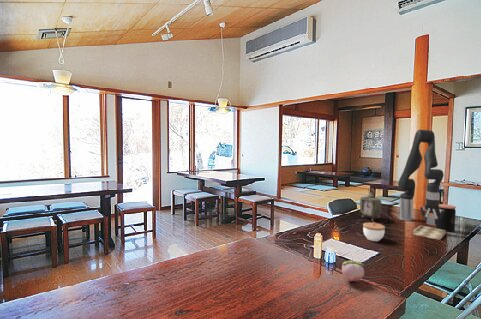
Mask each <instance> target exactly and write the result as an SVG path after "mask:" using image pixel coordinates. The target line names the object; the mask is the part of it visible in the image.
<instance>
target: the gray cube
mask: <svg viewBox="0 0 481 319" xmlns="http://www.w3.org/2000/svg"><path fill="white" fill-rule="evenodd" d="M435 219H436V218H435V215H428V216H427V223H426V225H431V226H436V224H435Z"/></svg>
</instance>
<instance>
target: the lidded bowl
mask: <svg viewBox="0 0 481 319" xmlns="http://www.w3.org/2000/svg"><path fill="white" fill-rule="evenodd" d="M385 229H386V226H385V225H383V224H381V223H376V222H375V221H372V222H364V223H362V231H363V236H365V238H366V239H367V240H368V241H372V242H379V241H381V239H383V237H384V236H385Z"/></svg>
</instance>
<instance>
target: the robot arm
mask: <svg viewBox="0 0 481 319" xmlns="http://www.w3.org/2000/svg"><path fill="white" fill-rule="evenodd" d="M435 138H436V137H435V132H434V131H433V130H429V129H418V130H417V131H416V132H415V134H414V137H413V140H412V141H413V142H412V147H411V148H410V151H409V154H408V157H407V160H406V163H405V166H404V168H403V171H402V173H401V175H400V178H399V180H398V181H397V187H398V189H399V190H401V191H403V193H400V195H399V207H398V213H397V214H398V215H397V219H398V220H402V221H406V222H407V221H408V222H410V221H413V210H414V197H415V192H416V181H415V179H413V178H410V177H411V175H412V174H414V173H415V172H416V171H417V170H418V169H419V168H420V167H421V164H422V161H423V160H424V164H425V168H424V173H423V174H424V178H425V179H427V180H431V181H433V180H434V181H433V182H428V183H427V184H426V193H425V206H421V207H420V212H421V216H422V217H424V222H425V223H426V224H427V216H430V215H429V214H433V216H435V218H436V219H435V225H436V224H437V223H438V219H441V218H442V216H443V213H444V210H441V209H440V208H439V204H440V188H441V187H440V186H441V184H442V181H443V178H444V174H445V173H444V171H443V170H442V169H439V168H437V167H438V160H437V155H436V154H437V153H436V139H435ZM421 143H425V144H427V145H428V147H427V149H426V150H425V152H424V156H423V155H422V153H421V150H420V146H421ZM435 168H436V169H435ZM404 191H405V192H404ZM425 210H426V213H425ZM438 211H440V216H439V217H438V214H437V212H438Z"/></svg>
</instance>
